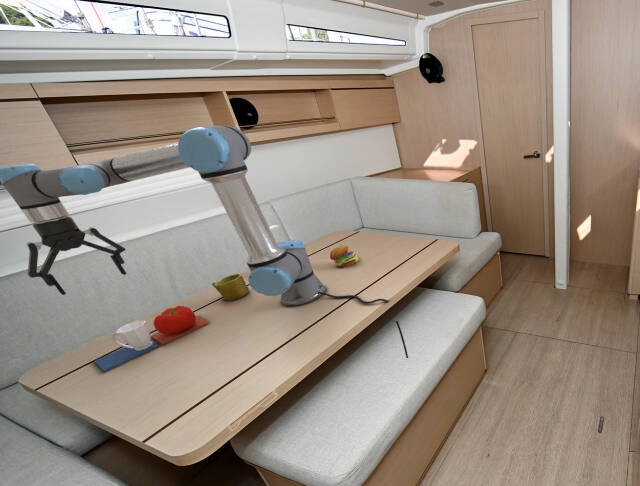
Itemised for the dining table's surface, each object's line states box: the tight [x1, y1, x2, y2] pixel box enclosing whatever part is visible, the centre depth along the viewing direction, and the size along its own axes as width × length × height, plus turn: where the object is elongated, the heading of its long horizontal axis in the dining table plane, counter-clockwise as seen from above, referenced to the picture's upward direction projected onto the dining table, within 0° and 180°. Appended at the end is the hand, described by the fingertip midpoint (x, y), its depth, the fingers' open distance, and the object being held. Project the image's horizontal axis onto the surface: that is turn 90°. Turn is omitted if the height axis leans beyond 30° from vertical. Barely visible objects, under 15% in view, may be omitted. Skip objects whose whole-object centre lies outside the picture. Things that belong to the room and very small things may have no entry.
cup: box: [111, 320, 154, 351], centre depth 114 cm, size 7×10×8 cm
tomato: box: [153, 305, 197, 334], centre depth 122 cm, size 11×11×8 cm
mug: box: [211, 273, 250, 301], centre depth 143 cm, size 12×10×10 cm
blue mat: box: [94, 339, 159, 373], centre depth 113 cm, size 10×13×1 cm
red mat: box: [151, 315, 209, 346], centre depth 124 cm, size 10×13×1 cm
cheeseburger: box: [329, 244, 359, 268], centre depth 164 cm, size 10×11×10 cm
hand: (95, 283), depth 111 cm, fingers open, 13 cm apart
